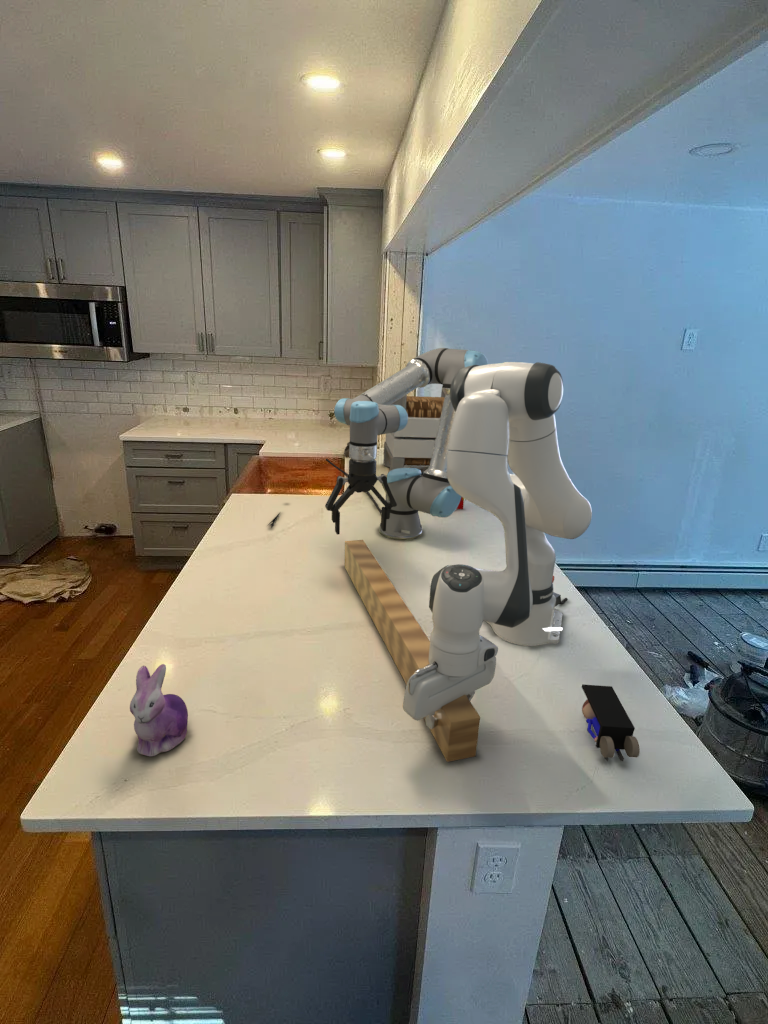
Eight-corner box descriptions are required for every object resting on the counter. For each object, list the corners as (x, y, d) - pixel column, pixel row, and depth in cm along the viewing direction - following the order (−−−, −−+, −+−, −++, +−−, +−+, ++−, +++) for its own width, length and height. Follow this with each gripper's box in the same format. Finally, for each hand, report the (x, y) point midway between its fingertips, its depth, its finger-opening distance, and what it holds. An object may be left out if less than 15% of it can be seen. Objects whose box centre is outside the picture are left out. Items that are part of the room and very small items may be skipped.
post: (344, 567, 173) (344, 540, 170) (362, 565, 174) (363, 539, 171) (446, 762, 100) (450, 722, 97) (475, 756, 101) (480, 717, 99)
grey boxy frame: (382, 463, 289) (386, 382, 275) (445, 464, 293) (451, 384, 279) (390, 482, 257) (394, 392, 243) (460, 483, 261) (468, 394, 247)
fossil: (344, 440, 316) (365, 425, 311) (355, 453, 319) (376, 438, 314) (337, 453, 296) (360, 437, 291) (349, 467, 299) (371, 452, 294)
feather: (287, 506, 225) (290, 502, 224) (270, 530, 198) (272, 526, 198) (283, 504, 225) (286, 500, 224) (265, 527, 198) (268, 523, 197)
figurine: (137, 767, 96) (127, 693, 90) (132, 728, 104) (122, 659, 99) (195, 750, 100) (189, 678, 95) (185, 714, 108) (179, 646, 103)
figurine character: (636, 775, 100) (605, 711, 114) (646, 744, 97) (613, 682, 111) (599, 774, 100) (572, 710, 114) (608, 744, 97) (579, 681, 110)
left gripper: (320, 464, 148) (319, 539, 155) (410, 461, 155) (406, 532, 162) (315, 457, 155) (315, 529, 162) (401, 454, 162) (397, 523, 169)
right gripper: (421, 683, 93) (416, 751, 98) (504, 644, 105) (496, 706, 110) (397, 665, 98) (393, 729, 102) (479, 629, 110) (472, 688, 114)
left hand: (360, 531), depth 162 cm, fingers open, 13 cm apart
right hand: (447, 717), depth 106 cm, fingers closed on post, 7 cm apart
